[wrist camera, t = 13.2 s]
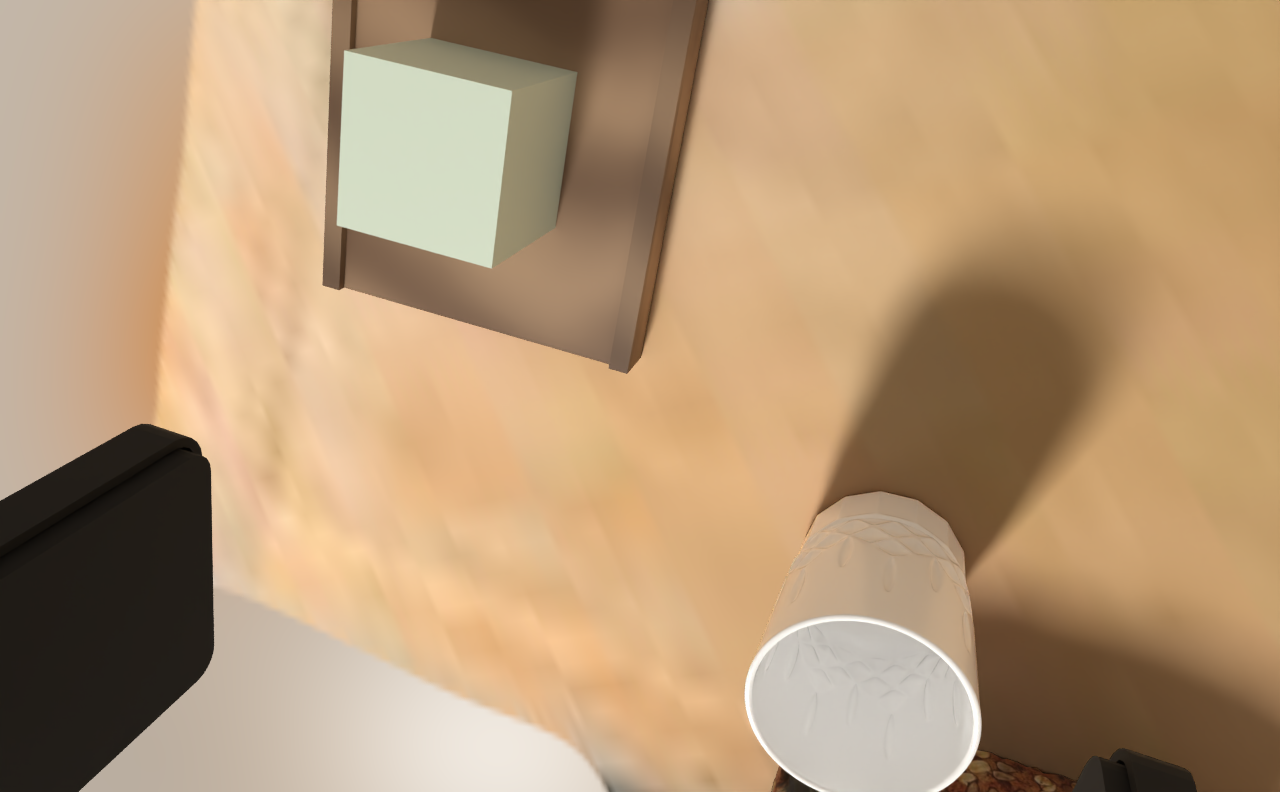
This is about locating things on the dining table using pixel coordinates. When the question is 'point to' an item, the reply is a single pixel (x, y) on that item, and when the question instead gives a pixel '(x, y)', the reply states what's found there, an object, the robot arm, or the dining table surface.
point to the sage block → (452, 147)
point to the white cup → (870, 654)
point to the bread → (972, 778)
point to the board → (592, 177)
